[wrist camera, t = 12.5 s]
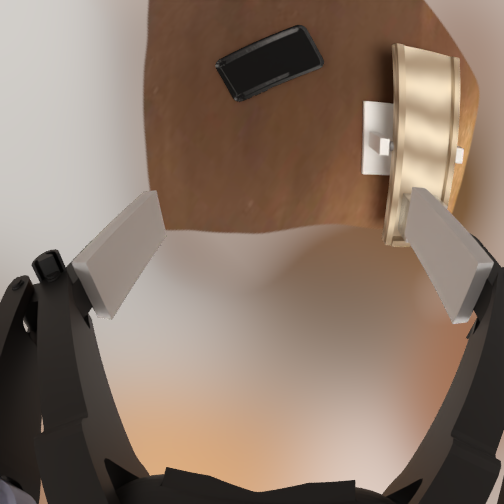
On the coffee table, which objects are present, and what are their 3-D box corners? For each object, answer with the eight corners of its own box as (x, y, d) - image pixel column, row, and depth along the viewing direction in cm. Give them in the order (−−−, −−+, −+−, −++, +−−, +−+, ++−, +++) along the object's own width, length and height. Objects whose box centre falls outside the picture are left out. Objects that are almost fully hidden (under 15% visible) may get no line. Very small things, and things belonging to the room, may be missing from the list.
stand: (362, 100, 37) (375, 103, 32) (448, 112, 35) (470, 119, 29) (357, 218, 48) (366, 238, 43) (434, 220, 46) (450, 239, 40)
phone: (212, 62, 36) (303, 22, 31) (214, 63, 37) (302, 24, 32) (236, 104, 40) (326, 66, 35) (237, 104, 41) (325, 67, 36)
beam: (384, 46, 29) (396, 42, 25) (446, 59, 28) (462, 58, 23) (376, 230, 45) (384, 246, 41) (429, 231, 44) (441, 246, 40)
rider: (402, 193, 38) (439, 238, 27) (436, 195, 37) (478, 239, 26) (397, 229, 41) (427, 281, 30) (429, 229, 40) (464, 279, 29)
